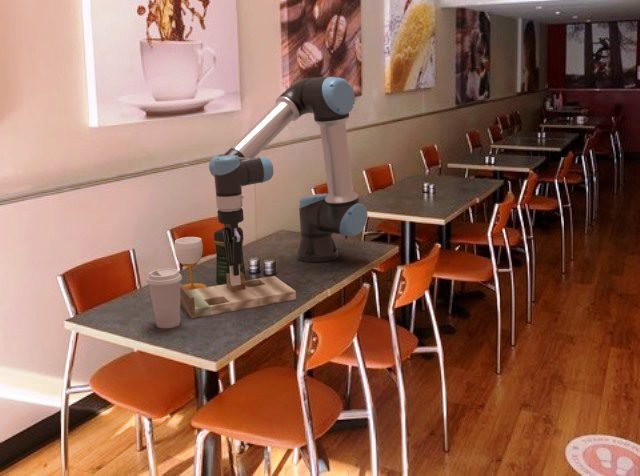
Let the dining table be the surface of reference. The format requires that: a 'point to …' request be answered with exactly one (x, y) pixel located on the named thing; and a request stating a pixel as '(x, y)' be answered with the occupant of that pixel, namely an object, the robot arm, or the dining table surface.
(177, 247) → the cup
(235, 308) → the trap board
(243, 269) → the coffee jar
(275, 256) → the dining table surface
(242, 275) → the walnut block
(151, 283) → the coffee cup
